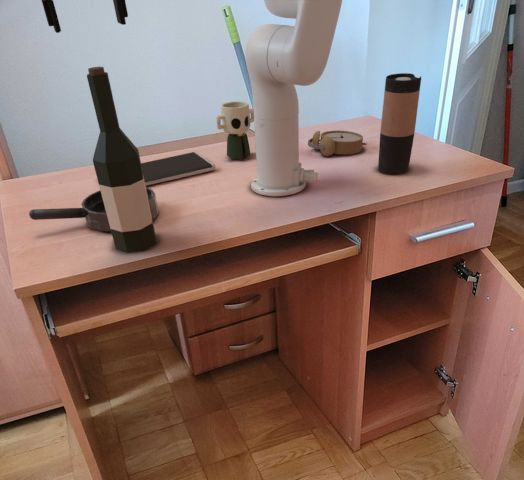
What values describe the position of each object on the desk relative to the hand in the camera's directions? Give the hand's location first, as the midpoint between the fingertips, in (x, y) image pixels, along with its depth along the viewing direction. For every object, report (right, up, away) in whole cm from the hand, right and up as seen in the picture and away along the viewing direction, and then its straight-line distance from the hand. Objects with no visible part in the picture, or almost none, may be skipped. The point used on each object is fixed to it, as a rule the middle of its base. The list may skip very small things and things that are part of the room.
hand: (90, 27), depth 76 cm
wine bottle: (+1, -28, +22) cm, 35 cm away
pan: (-4, -21, +31) cm, 37 cm away
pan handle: (-15, -23, +26) cm, 38 cm away
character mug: (+20, +2, +58) cm, 61 cm away
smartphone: (0, -5, +50) cm, 50 cm away
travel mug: (+58, -6, +45) cm, 73 cm away
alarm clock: (+45, +4, +58) cm, 74 cm away
